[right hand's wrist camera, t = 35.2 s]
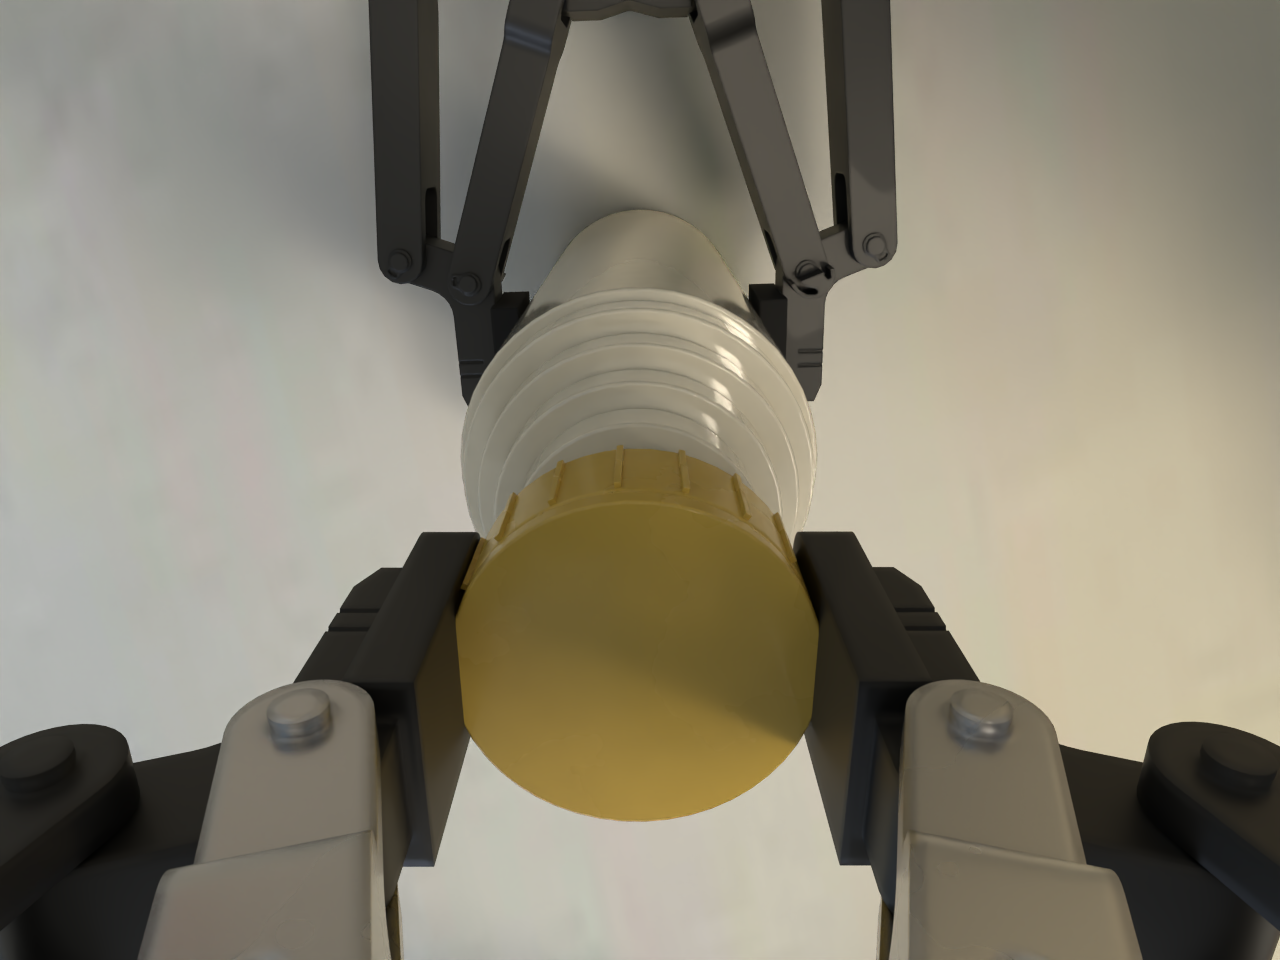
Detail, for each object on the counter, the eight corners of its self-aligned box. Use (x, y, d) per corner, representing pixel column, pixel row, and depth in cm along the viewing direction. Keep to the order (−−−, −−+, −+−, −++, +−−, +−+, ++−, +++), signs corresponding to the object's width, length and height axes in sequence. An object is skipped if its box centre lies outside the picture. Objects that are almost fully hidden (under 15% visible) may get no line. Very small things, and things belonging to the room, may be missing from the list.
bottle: (587, 416, 34) (492, 896, 13) (521, 246, 32) (269, 484, 10) (754, 359, 33) (957, 771, 12) (700, 181, 31) (828, 292, 9)
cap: (779, 744, 13) (800, 836, 11) (468, 723, 13) (442, 812, 11) (828, 457, 11) (860, 515, 10) (471, 430, 11) (442, 482, 9)
